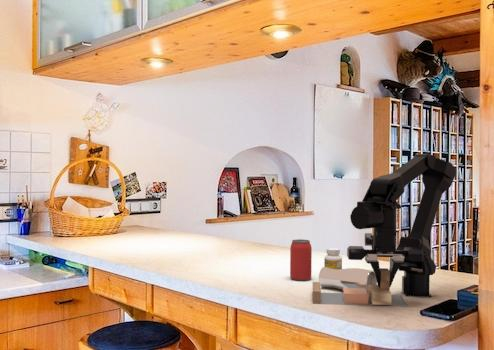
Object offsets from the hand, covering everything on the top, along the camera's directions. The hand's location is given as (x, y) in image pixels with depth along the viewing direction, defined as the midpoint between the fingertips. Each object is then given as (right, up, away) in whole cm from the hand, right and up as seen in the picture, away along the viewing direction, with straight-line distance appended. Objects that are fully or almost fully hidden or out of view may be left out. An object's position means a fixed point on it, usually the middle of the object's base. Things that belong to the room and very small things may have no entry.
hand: (384, 286), depth 137 cm
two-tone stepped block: (-1, -3, 0) cm, 4 cm away
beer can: (-19, -4, +28) cm, 34 cm away
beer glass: (-13, -1, +17) cm, 21 cm away
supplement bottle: (-9, -4, +27) cm, 29 cm away
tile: (-7, -4, +1) cm, 8 cm away
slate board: (-6, -4, +2) cm, 8 cm away
